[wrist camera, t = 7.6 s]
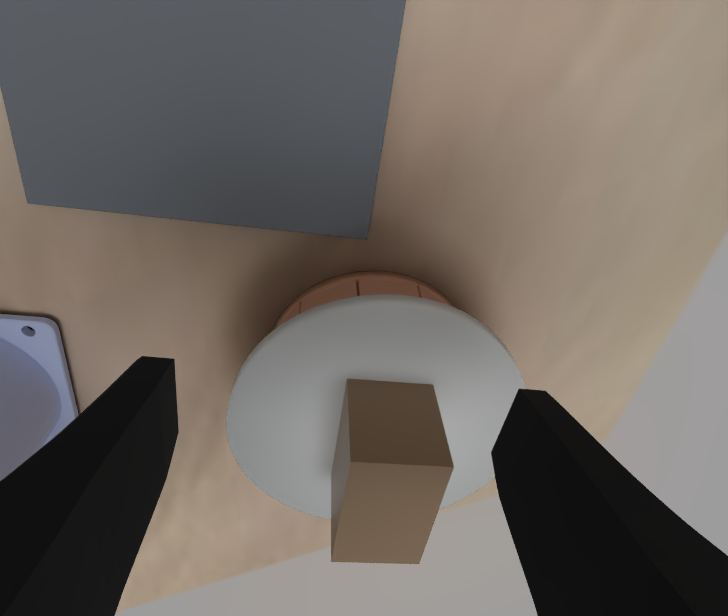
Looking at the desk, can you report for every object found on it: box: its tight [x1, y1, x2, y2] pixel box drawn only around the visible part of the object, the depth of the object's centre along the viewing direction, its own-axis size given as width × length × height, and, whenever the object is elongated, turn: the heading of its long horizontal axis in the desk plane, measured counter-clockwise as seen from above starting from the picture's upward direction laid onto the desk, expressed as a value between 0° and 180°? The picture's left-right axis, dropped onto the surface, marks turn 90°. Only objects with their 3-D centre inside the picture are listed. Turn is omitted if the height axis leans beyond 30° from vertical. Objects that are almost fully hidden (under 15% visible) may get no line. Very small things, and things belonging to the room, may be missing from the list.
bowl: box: [273, 271, 455, 330], centre depth 21 cm, size 9×9×4 cm
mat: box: [0, 0, 406, 240], centre depth 15 cm, size 12×12×1 cm
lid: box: [226, 294, 526, 564], centre depth 17 cm, size 11×11×4 cm
